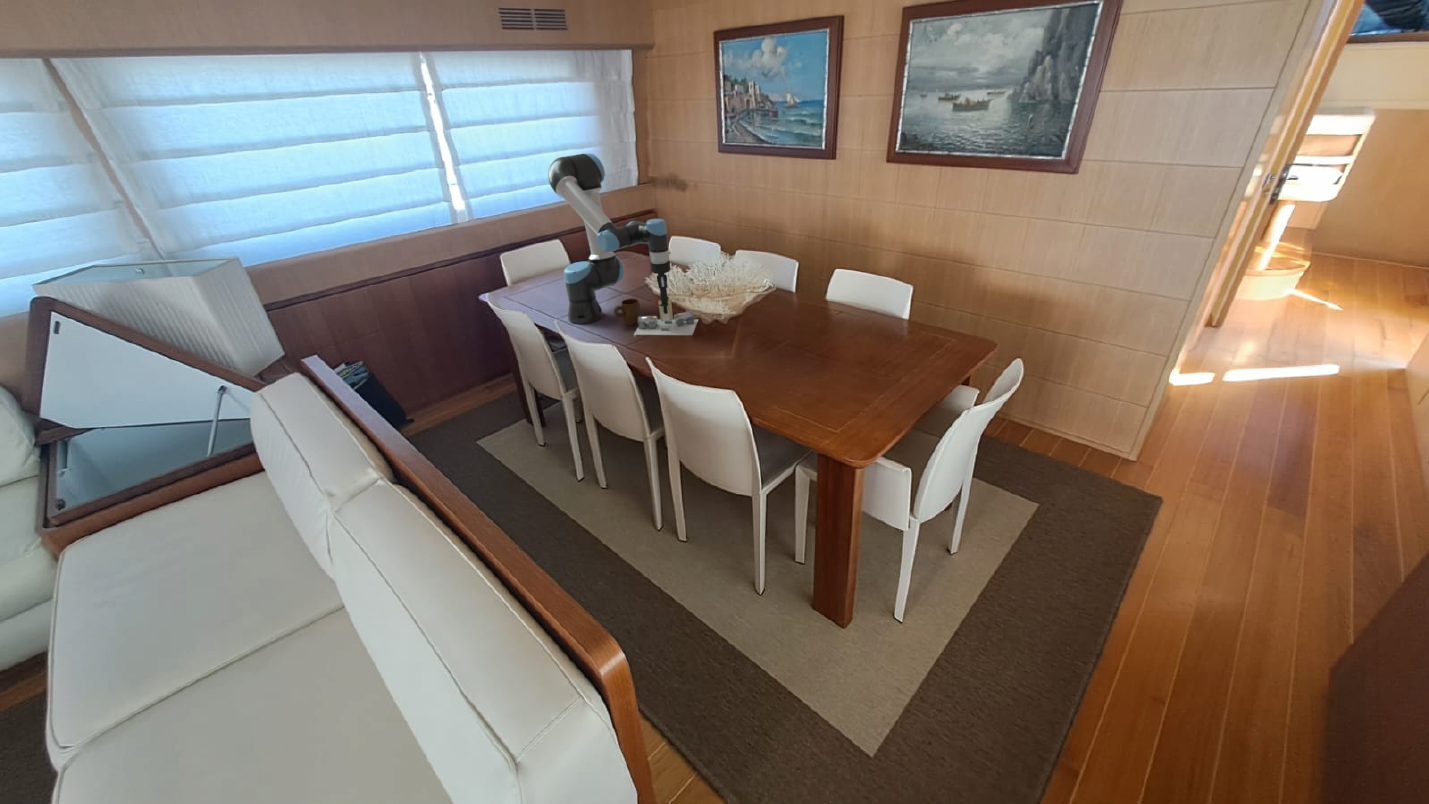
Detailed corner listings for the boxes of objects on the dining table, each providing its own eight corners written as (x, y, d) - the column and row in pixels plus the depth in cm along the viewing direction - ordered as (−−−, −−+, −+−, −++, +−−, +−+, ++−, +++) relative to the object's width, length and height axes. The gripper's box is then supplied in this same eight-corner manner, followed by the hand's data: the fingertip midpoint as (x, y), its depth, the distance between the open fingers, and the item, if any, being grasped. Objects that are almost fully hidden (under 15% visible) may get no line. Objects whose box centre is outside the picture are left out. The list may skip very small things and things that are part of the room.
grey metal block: (677, 326, 223) (676, 316, 221) (674, 323, 227) (673, 312, 224) (694, 323, 225) (694, 313, 223) (690, 319, 229) (690, 309, 227)
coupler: (673, 320, 220) (671, 303, 216) (660, 321, 220) (658, 305, 216) (672, 315, 224) (670, 299, 221) (660, 316, 224) (658, 300, 220)
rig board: (634, 337, 219) (633, 332, 218) (643, 321, 233) (642, 316, 232) (692, 337, 216) (692, 332, 215) (698, 322, 230) (698, 317, 228)
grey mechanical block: (638, 328, 223) (636, 318, 221) (641, 324, 227) (639, 314, 225) (656, 329, 222) (654, 318, 220) (658, 324, 226) (657, 314, 224)
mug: (621, 330, 226) (618, 309, 221) (611, 325, 231) (608, 304, 226) (645, 322, 232) (642, 301, 228) (635, 317, 237) (632, 297, 233)
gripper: (671, 267, 202) (676, 325, 214) (668, 254, 218) (673, 308, 230) (651, 268, 202) (657, 327, 214) (649, 255, 217) (656, 310, 229)
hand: (666, 317), depth 222 cm, fingers closed on coupler, 5 cm apart
